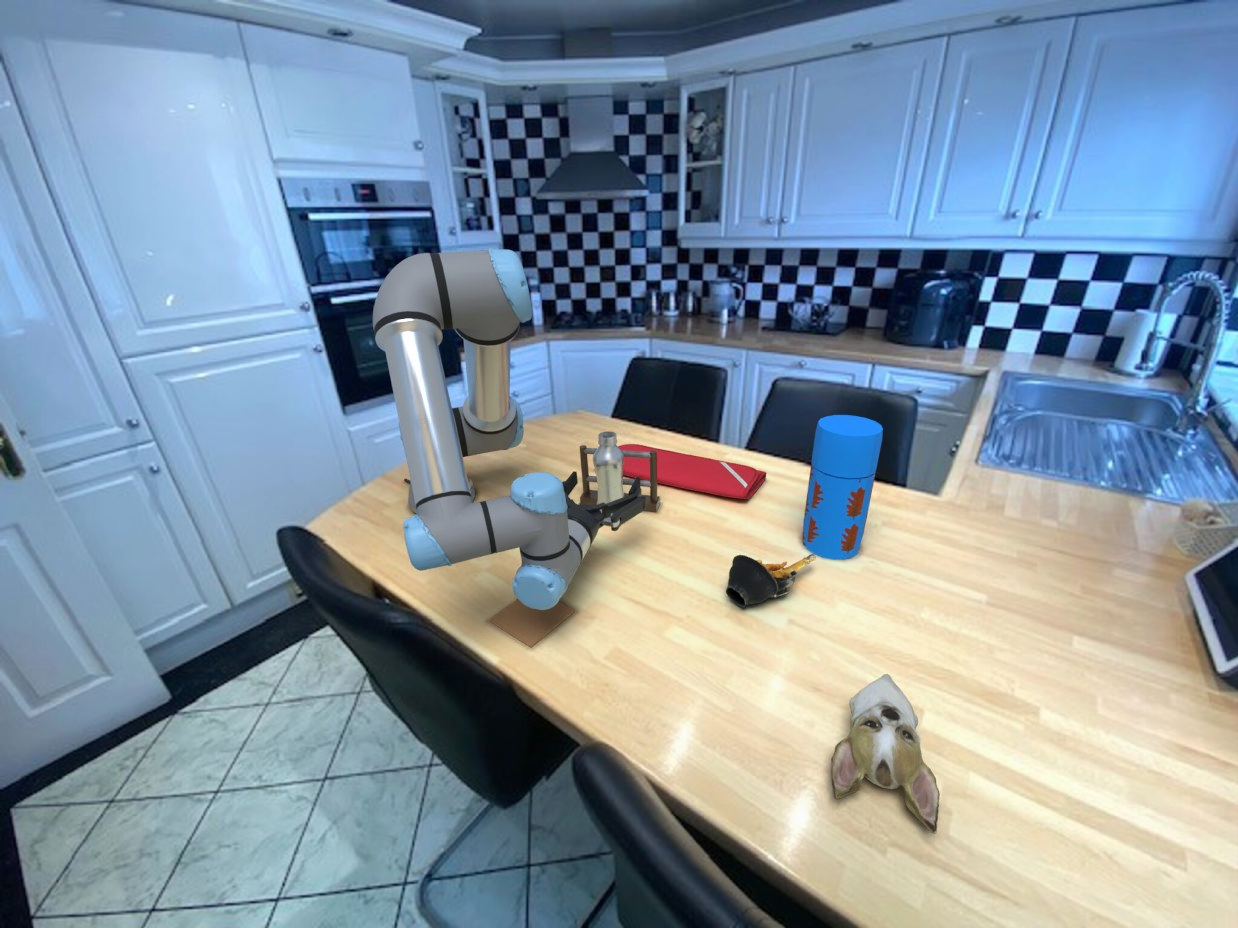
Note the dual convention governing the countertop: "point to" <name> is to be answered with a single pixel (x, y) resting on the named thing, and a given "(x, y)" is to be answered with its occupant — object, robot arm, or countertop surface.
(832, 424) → the thermos
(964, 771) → the countertop surface
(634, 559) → the countertop surface
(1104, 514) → the countertop surface
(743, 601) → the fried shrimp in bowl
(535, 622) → the coaster
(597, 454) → the silver water bottle
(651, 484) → the rail rack
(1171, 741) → the countertop surface
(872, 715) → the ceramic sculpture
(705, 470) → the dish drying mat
